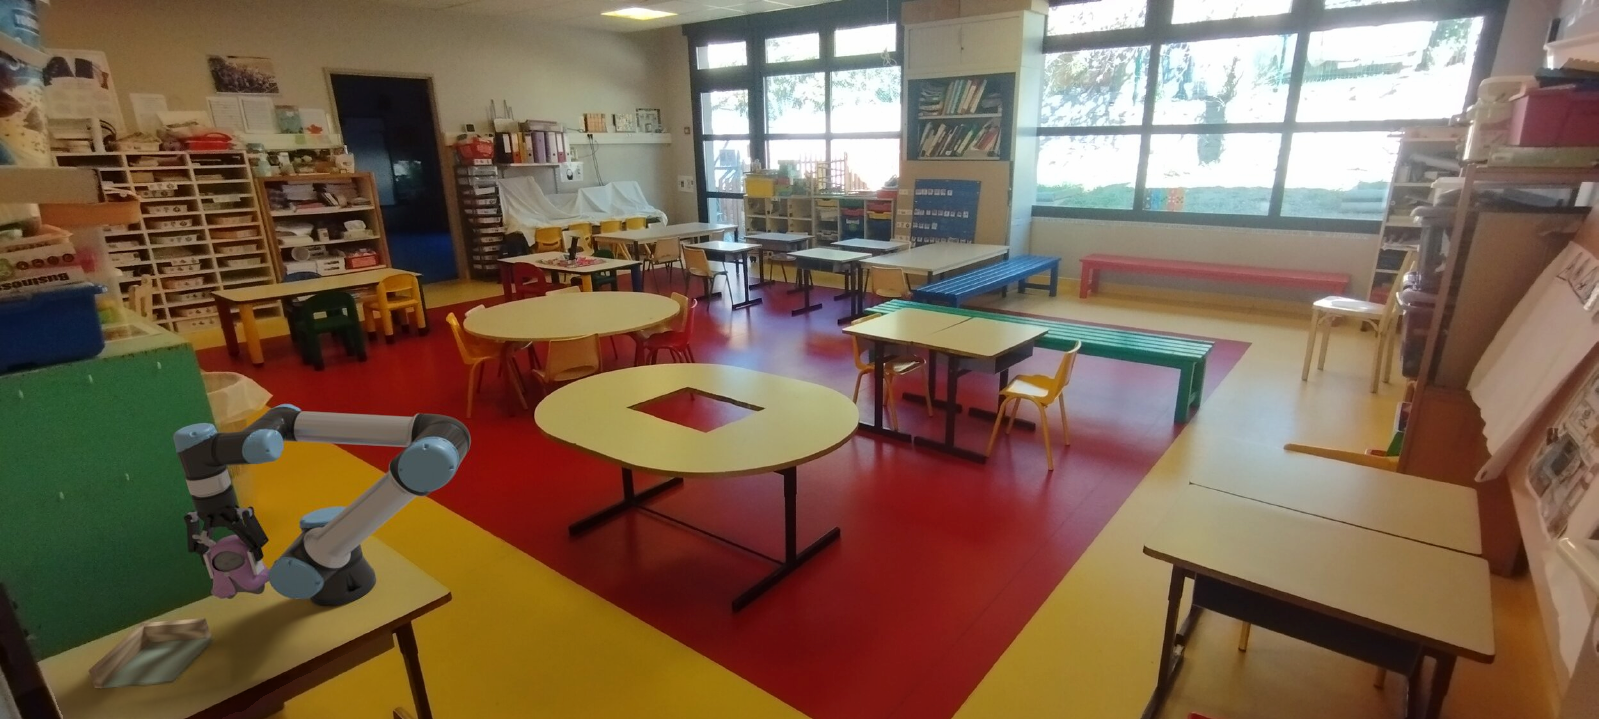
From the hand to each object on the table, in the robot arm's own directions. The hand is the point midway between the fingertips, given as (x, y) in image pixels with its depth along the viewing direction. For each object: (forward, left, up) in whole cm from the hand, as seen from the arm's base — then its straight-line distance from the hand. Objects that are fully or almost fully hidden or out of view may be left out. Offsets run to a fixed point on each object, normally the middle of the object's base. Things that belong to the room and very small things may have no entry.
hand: (237, 573), depth 173 cm
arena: (+15, +9, -16) cm, 24 cm away
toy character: (0, 0, -7) cm, 7 cm away
